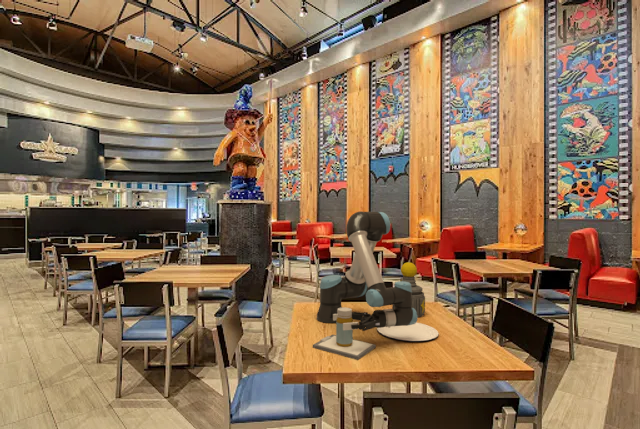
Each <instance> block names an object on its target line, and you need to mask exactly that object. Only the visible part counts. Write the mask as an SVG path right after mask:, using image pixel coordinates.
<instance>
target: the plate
mask: <svg viewBox="0 0 640 429" xmlns="http://www.w3.org/2000/svg"><path fill="white" fill-rule="evenodd" d="M376 330H377V332H378V333H379V334H381V335H383V336H384V337H387V338H389V339H394V340H398V341H404V342H405V341H406V342H425V341H426V342H427V341H432V340H435V339H436V338H437V337H438V336H439V331H438V330H437V329H436V328H435V327H432V326H431V325H427V324H425V323H421V322H418V321H417V322H416V323H415V324H413V325H408V326H391V327H390V328H388V327H382V328H376Z"/></svg>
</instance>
